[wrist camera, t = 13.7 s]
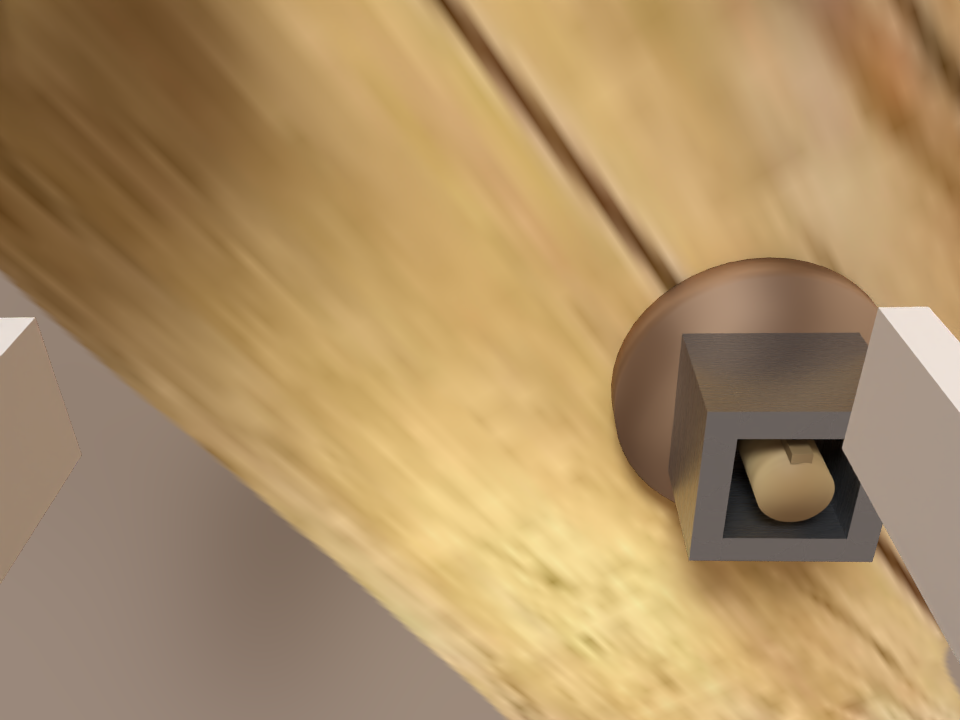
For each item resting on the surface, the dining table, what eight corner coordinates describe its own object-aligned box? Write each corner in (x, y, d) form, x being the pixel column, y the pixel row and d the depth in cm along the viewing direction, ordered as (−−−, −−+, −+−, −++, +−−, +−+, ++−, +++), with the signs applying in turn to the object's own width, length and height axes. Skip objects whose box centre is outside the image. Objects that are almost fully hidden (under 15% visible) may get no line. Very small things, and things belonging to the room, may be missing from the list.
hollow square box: (668, 470, 41) (688, 560, 36) (682, 333, 38) (707, 411, 32) (828, 471, 41) (872, 561, 36) (859, 332, 37) (913, 411, 32)
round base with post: (605, 490, 45) (620, 608, 38) (618, 259, 38) (639, 351, 31) (863, 491, 44) (925, 611, 37) (922, 255, 37) (1012, 349, 31)
